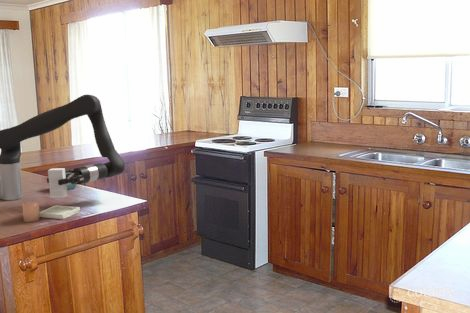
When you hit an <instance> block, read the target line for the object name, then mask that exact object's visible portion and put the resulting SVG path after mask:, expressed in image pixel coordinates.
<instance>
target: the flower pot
mask: <svg viewBox="0 0 470 313" xmlns="http://www.w3.org/2000/svg"><path fill="white" fill-rule="evenodd" d="M72 171H73V169H67V170H66V169H65V173H69V172H71V173H72ZM66 185H67V191H68V190H73V189H76V187H77V185H78V184H66Z"/></svg>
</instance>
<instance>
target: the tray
mask: <svg viewBox="0 0 470 313" xmlns="http://www.w3.org/2000/svg"><path fill="white" fill-rule="evenodd" d="M79 212H81V208H80V206H70V205H69V206H68V205H58V204H57V205H53V206H51V207H48V208H46V209H43V210H41V211H39V218H48V219H57V220H58V219H60V220H64V219H66V218H68V217H71V216H72V215H75V214H77V213H79Z"/></svg>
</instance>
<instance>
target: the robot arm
mask: <svg viewBox="0 0 470 313" xmlns="http://www.w3.org/2000/svg"><path fill="white" fill-rule="evenodd" d="M83 116H87V117H88V119H89V121H90V122H91V125H92V129H93V135H94V138H95V139H94V140H95V143H96V146H97V148H98V151H99V153H100V156H101V157H102V158H107V159H108V161H107V162H105V163H102V162H101V163H95V164H87V165H82V166H77V167H74V168H73V169H72V170H73V171H72V173H71V172H69V173H65V175H66V178H65V179H60V180H58V185H63V184H77V185H79V186H80V185H83V184H87V183H91V182H94V181H97V180H98V181H99V180H102V179H106V178H112V177H115V176H117V175H120V174H122V173H123V172H124V171H125V169H126V168H125V167H126V165H125V161H124V160H123V159H122V157H121V155H120V154H119V153H118V151H117V150H116V149H115V145H114V143H113V141H112V138H111V135H110V133H109V131H108V130H109V129H108V128H107V125H106V121H105V118H104V114H103V109H102V104H101V101H100V99H99V98H98V97H97V96H95V95H92V94H83V95H80V96H79V97H76V99H73V100H72V101H70V102H68V103H66V104H64V105H60V106H58V107H54V108H52V109H48V110H47V111H43V112H42V113H39V114H37V115H35V116H32V117H31V118H28V119H27V120H25V121H23V122H21V123H20V124H17V125H15V126H11V127H7V128H4V129H0V199H1V200H3V201H13V200H14V201H15V200H19V199H22V198H24V195H23V182H22V169H21V155H22V151H21V149H22V146H21V142H23V141H26V140H28V139H31V138H35V137H39V136H42V135H46V134H48V133H51V132H53V131H56V130H57V129H59V128H61V127H62V126H64V125H65V124H67V123H69V122H70V121H72V120H73V119H77V118H79V117H83ZM46 182H47V184H49V177H47V178H46Z"/></svg>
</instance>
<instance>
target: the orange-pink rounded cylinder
mask: <svg viewBox="0 0 470 313" xmlns="http://www.w3.org/2000/svg"><path fill="white" fill-rule="evenodd" d="M39 212H40V205H39V202H38V201H36V200H35V201H34V200H32V201H24V202H22V214H23V215H22V216H23V221H24V222H26V223H30V222H31V223H32V222H37V221H39V220H40V219H41V217H39Z"/></svg>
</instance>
